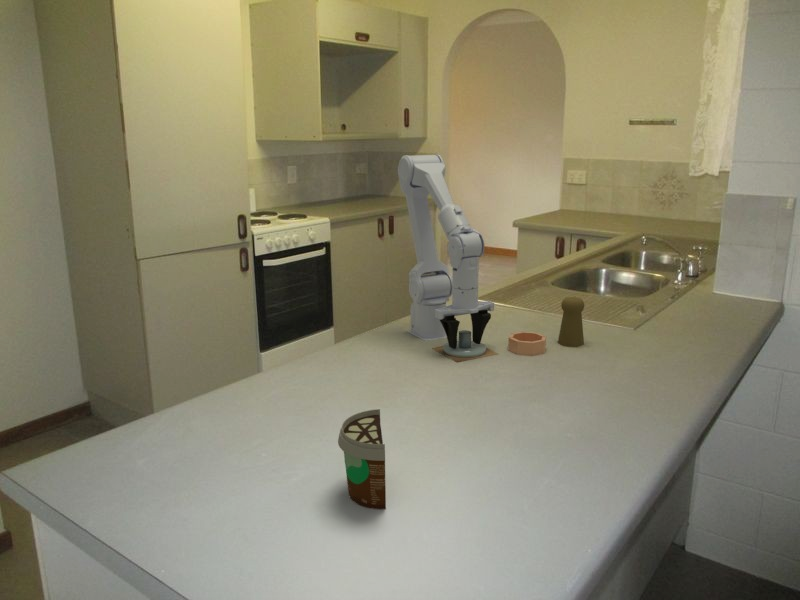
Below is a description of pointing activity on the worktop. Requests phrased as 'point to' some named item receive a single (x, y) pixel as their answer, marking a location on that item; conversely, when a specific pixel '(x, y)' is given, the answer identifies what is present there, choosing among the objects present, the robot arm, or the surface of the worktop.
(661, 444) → the worktop surface
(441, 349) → the board
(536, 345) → the pot
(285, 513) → the worktop surface
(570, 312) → the cork
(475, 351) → the lid
